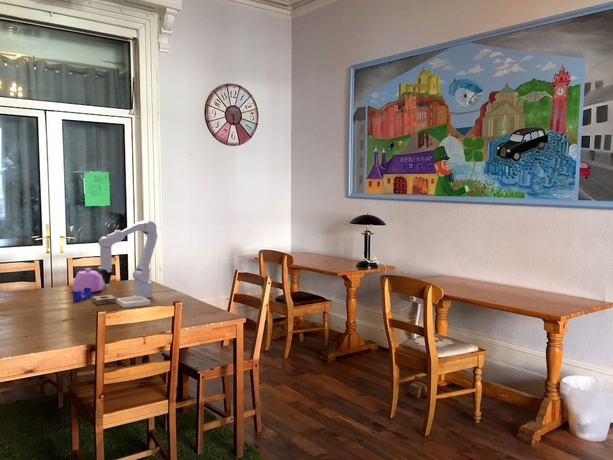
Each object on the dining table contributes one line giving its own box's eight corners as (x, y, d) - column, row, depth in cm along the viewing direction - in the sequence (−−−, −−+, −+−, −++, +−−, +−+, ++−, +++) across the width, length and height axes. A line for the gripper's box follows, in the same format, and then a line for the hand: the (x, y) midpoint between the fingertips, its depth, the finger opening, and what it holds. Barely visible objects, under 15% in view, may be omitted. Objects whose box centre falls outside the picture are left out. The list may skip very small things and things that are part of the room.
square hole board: (111, 299, 301) (111, 294, 301) (116, 302, 293) (116, 298, 293) (92, 301, 296) (92, 296, 296) (96, 304, 288) (96, 300, 287)
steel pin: (108, 288, 295) (108, 272, 295) (109, 289, 293) (109, 273, 292) (103, 289, 294) (103, 273, 293) (104, 290, 292) (104, 273, 291)
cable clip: (83, 297, 306) (83, 286, 306) (90, 297, 305) (90, 287, 305) (70, 301, 294) (70, 290, 294) (78, 302, 294) (77, 291, 293)
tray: (142, 300, 300) (142, 295, 300) (150, 305, 289) (150, 300, 288) (116, 302, 292) (116, 298, 292) (123, 308, 281) (123, 303, 280)
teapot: (118, 290, 327) (118, 267, 326) (87, 295, 309) (86, 272, 308) (95, 285, 339) (95, 264, 338) (64, 291, 321) (63, 268, 319)
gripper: (95, 257, 296) (95, 281, 297) (101, 260, 284) (101, 286, 285) (108, 256, 300) (108, 280, 301) (115, 260, 288) (115, 285, 289)
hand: (106, 283), depth 293 cm, fingers closed on steel pin, 3 cm apart
